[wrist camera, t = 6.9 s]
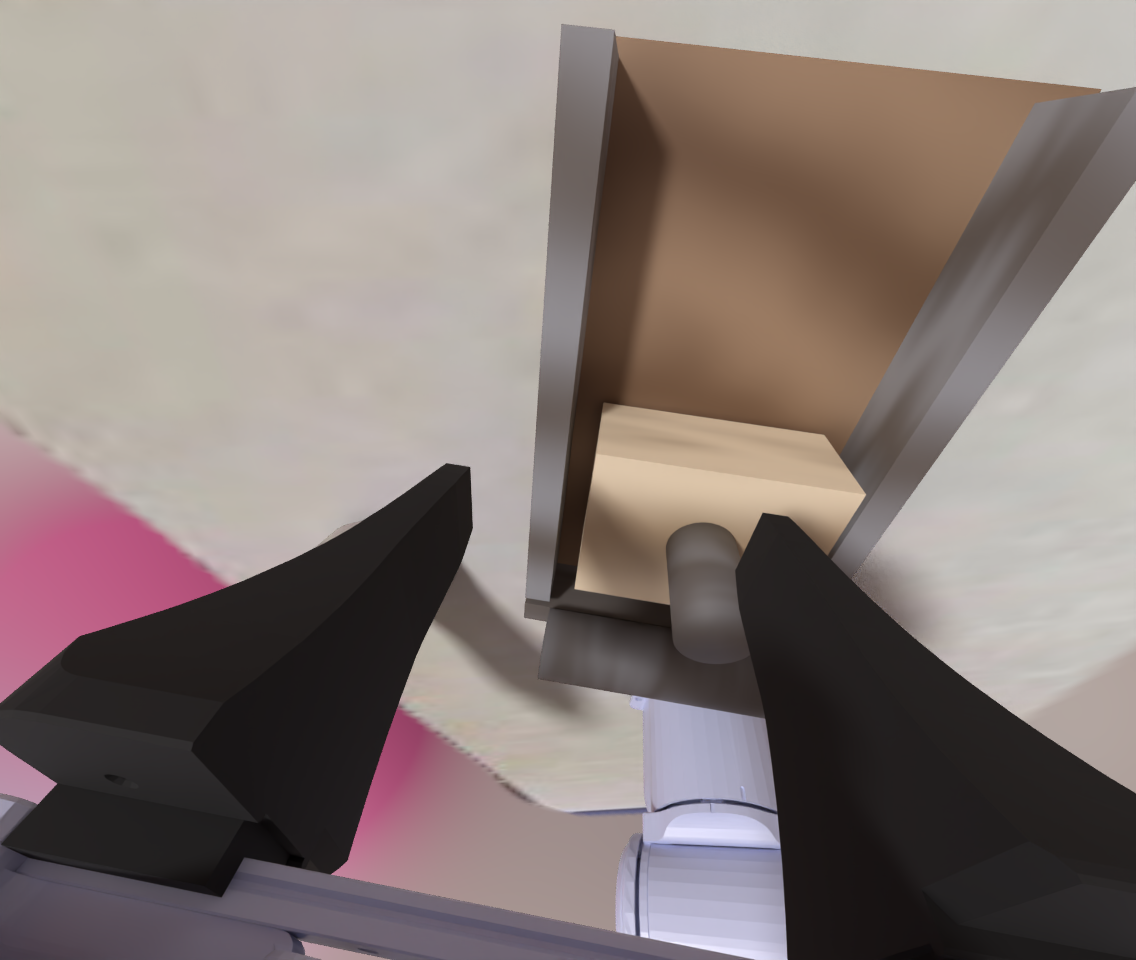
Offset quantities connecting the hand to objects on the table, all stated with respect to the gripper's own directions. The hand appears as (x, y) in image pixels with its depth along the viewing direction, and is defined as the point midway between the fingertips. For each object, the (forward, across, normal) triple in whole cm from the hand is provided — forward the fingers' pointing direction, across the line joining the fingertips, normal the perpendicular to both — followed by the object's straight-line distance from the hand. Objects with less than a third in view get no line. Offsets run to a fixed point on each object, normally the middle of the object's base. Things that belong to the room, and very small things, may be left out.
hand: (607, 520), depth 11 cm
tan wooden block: (+8, -4, +4) cm, 10 cm away
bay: (+9, -4, +1) cm, 10 cm away
